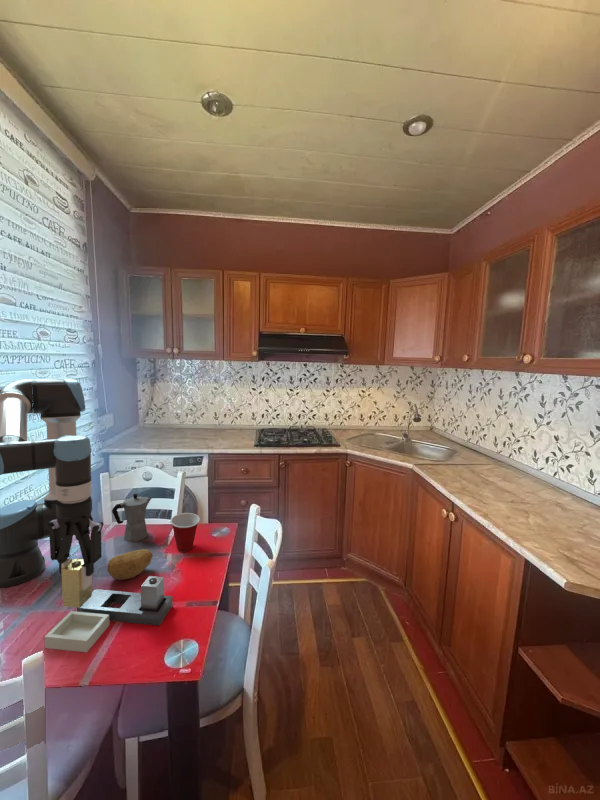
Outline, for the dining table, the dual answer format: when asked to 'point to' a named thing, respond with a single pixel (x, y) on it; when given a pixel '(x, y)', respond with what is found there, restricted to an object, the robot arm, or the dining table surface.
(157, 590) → the square rod with stud
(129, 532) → the coffeepot
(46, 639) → the parts tray
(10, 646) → the dining table surface
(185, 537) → the plastic cup
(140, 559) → the potato
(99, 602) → the rail
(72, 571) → the block with metal knob
